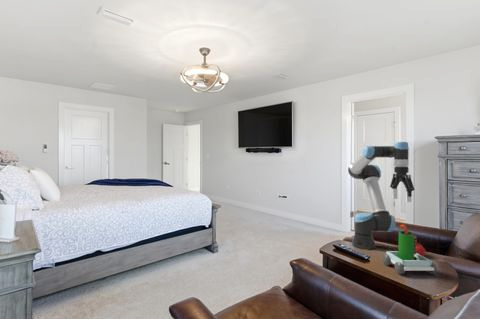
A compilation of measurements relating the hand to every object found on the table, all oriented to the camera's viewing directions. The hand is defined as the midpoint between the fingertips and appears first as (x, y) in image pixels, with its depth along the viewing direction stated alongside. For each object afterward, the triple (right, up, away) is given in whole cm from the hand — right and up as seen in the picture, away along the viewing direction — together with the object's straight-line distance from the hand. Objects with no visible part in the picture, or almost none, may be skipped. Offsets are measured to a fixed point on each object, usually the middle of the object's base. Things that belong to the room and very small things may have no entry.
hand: (401, 200), depth 160 cm
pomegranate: (+14, -37, +7) cm, 40 cm away
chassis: (-6, -37, -15) cm, 40 cm away
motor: (-6, -32, -15) cm, 36 cm away
